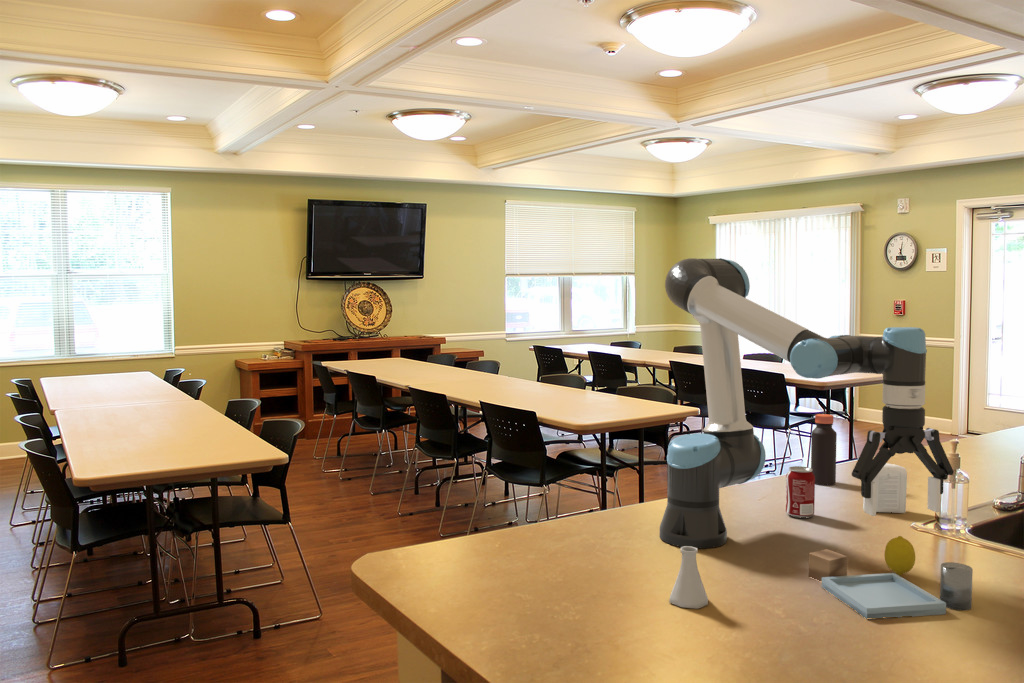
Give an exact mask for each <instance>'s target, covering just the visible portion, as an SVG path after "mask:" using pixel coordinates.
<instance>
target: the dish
mask: <svg viewBox="0 0 1024 683" xmlns="http://www.w3.org/2000/svg"><path fill="white" fill-rule="evenodd" d="M822 587H823V588H824V589H826V590H827V591H828V592H827V591H826V590H825V591H826V592H827V593H829V592H830V593H831V594H833V595H834V596H835V598H836V597H837V598H838V599H840V600H841V601H843V602H844V603H846V604H847V605H849V606H850V607H851V608H853V609H854V610H856V611H857V612H858V613H859V614H861V615H862V616H863V617H862V616H861V615H860V616H861V617H862V618H864V617H865V618H866V619H867V618H883V617H898V618H902V617H901V616H912V617H921V616H922V617H924V616H925V617H927V616H938V615H939V616H940V615H946V614H947V607H946V603H945V602H944V601H942V600H940V598H938V597H937V596H935V595H933V594H931V593H930V592H928V591H926V590H924V589H923V588H921V587H919V586H918V585H916V584H914V583H912V582H911V581H909V580H907V579H906V578H904V577H902V576H899V575H897V574H896V572H888V573H887V572H886V573H885V572H883V573H870V574H856V575H855V574H853V575H852V574H851V575H847V576H835V577H822V583H821V588H822ZM823 588H822V589H823ZM824 589H823V590H824ZM830 593H829V594H830ZM831 594H830V595H831ZM833 595H832V596H833ZM834 596H833V597H834ZM837 598H836V599H837ZM838 599H837V600H838ZM840 600H839V601H840ZM841 601H840V602H841ZM843 602H842V603H843ZM844 603H843V604H844ZM847 605H846V606H847ZM850 607H849V608H850ZM851 608H850V609H851ZM854 610H853V611H854ZM857 612H856V613H857ZM858 613H857V614H858ZM859 614H858V615H859ZM865 618H864V619H865ZM866 619H865V620H866Z"/></svg>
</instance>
